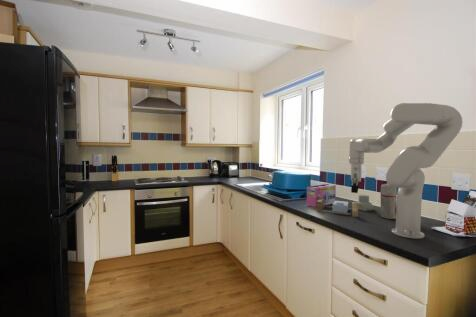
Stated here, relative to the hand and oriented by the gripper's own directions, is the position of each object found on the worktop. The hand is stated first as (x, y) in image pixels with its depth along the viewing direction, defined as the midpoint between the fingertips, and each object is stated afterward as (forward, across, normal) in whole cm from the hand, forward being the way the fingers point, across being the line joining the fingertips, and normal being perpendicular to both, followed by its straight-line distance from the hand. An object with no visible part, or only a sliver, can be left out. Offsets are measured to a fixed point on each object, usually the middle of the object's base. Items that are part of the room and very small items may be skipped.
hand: (354, 191), depth 144 cm
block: (+14, +8, +8) cm, 19 cm away
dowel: (+15, 0, -1) cm, 15 cm away
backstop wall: (+16, +8, +20) cm, 27 cm away
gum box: (+16, +24, +22) cm, 36 cm away
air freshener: (+16, +22, -5) cm, 27 cm away
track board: (+16, +8, +11) cm, 21 cm away
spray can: (+15, +10, -18) cm, 26 cm away
